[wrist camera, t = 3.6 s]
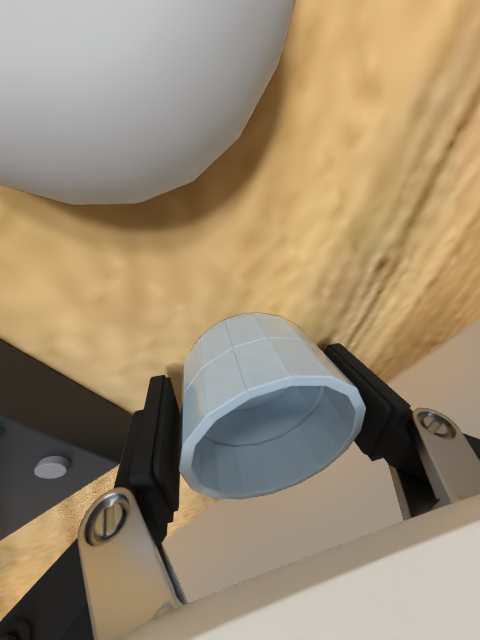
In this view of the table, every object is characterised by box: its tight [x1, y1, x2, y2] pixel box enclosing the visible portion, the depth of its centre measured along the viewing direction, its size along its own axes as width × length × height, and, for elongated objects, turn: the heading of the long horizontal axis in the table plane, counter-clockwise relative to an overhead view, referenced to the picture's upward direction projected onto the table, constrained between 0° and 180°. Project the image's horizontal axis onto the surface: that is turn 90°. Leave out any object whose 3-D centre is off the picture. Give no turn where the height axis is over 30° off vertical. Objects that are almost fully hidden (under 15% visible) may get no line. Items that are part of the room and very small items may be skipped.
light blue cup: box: [179, 313, 366, 499], centre depth 9 cm, size 7×7×4 cm
